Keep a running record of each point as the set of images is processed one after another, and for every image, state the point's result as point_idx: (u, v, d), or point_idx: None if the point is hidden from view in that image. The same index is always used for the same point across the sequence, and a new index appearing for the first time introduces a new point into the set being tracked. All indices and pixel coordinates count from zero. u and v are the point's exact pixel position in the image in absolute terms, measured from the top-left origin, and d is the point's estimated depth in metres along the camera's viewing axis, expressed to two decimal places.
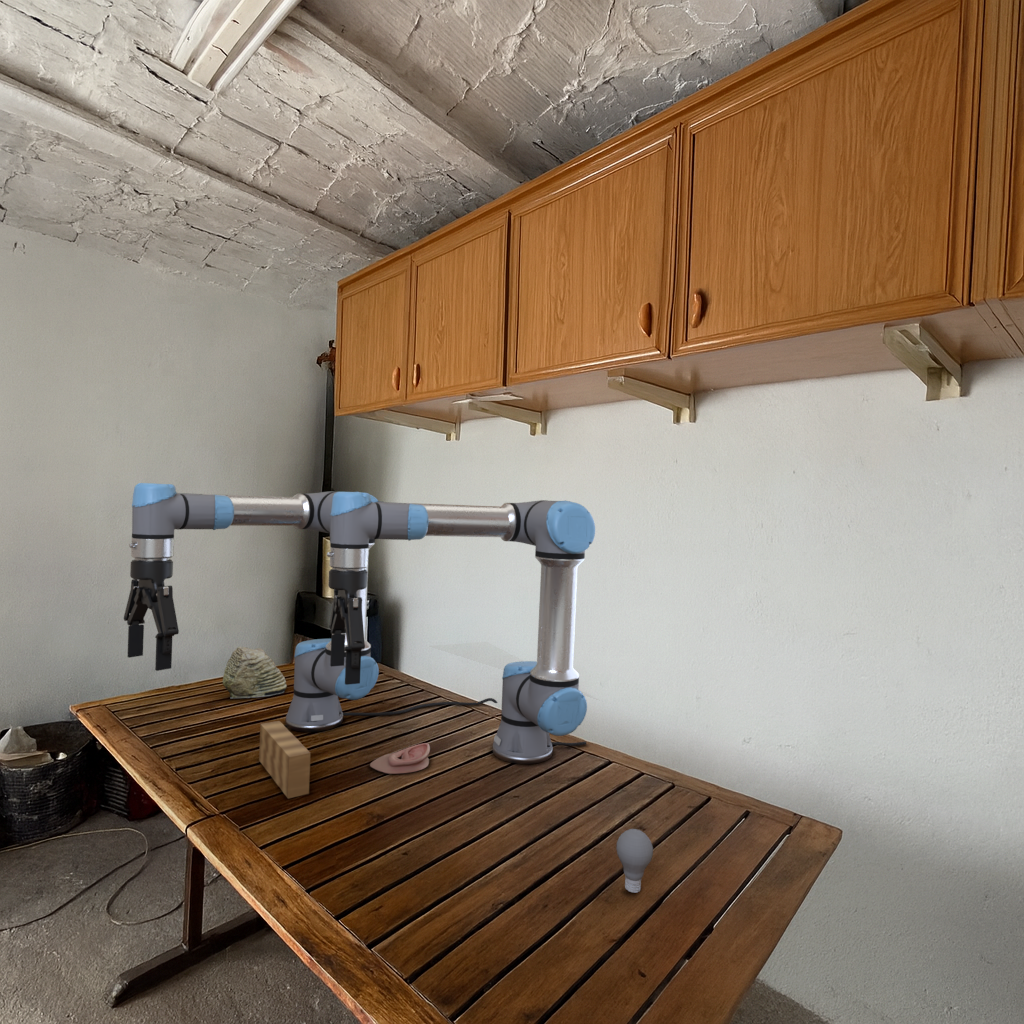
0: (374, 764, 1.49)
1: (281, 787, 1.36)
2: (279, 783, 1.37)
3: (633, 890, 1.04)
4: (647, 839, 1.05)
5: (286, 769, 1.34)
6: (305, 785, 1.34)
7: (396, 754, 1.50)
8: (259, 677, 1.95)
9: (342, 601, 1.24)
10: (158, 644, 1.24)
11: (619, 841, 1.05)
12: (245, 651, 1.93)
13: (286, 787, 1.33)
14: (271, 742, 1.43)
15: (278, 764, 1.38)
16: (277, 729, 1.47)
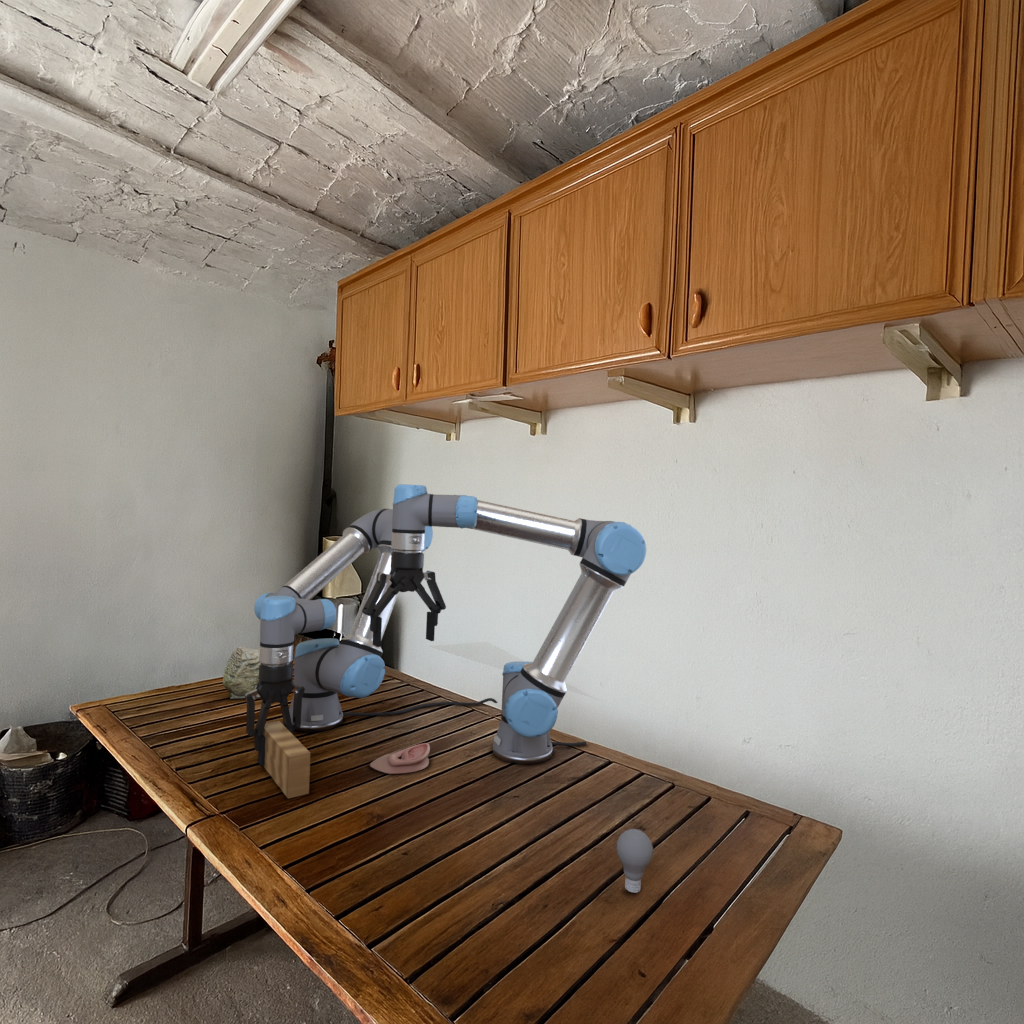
0: (374, 764, 1.49)
1: (281, 787, 1.36)
2: (279, 783, 1.37)
3: (633, 890, 1.04)
4: (647, 839, 1.05)
5: (286, 769, 1.34)
6: (305, 785, 1.34)
7: (396, 754, 1.50)
8: None
9: None
10: None
11: (619, 841, 1.05)
12: (245, 651, 1.93)
13: (286, 787, 1.33)
14: (271, 742, 1.43)
15: (278, 764, 1.38)
16: (277, 729, 1.47)
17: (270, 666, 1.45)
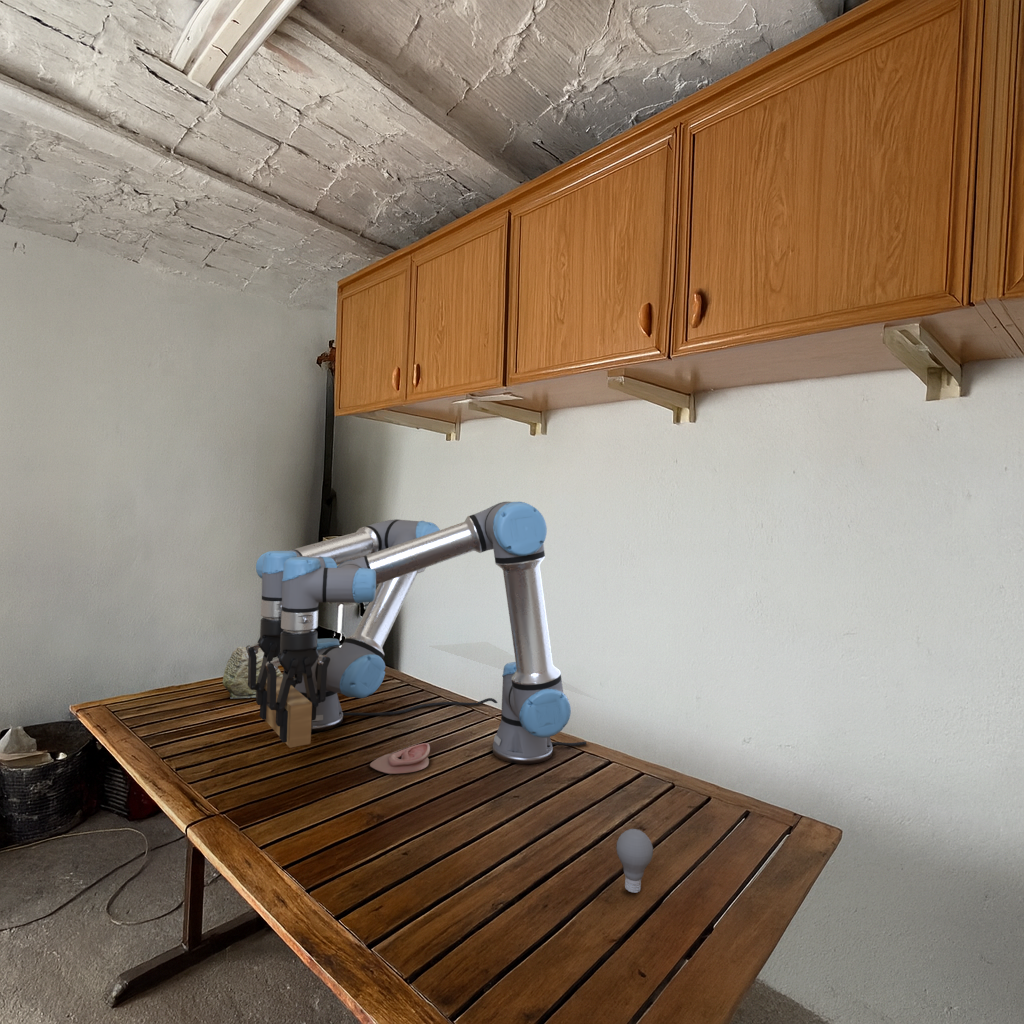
0: (374, 764, 1.49)
1: None
2: None
3: (633, 890, 1.04)
4: (647, 839, 1.05)
5: (288, 718, 1.33)
6: (306, 735, 1.34)
7: (396, 754, 1.50)
8: None
9: None
10: None
11: (619, 841, 1.05)
12: (245, 651, 1.93)
13: (288, 737, 1.33)
14: None
15: None
16: (279, 683, 1.47)
17: (272, 619, 1.45)
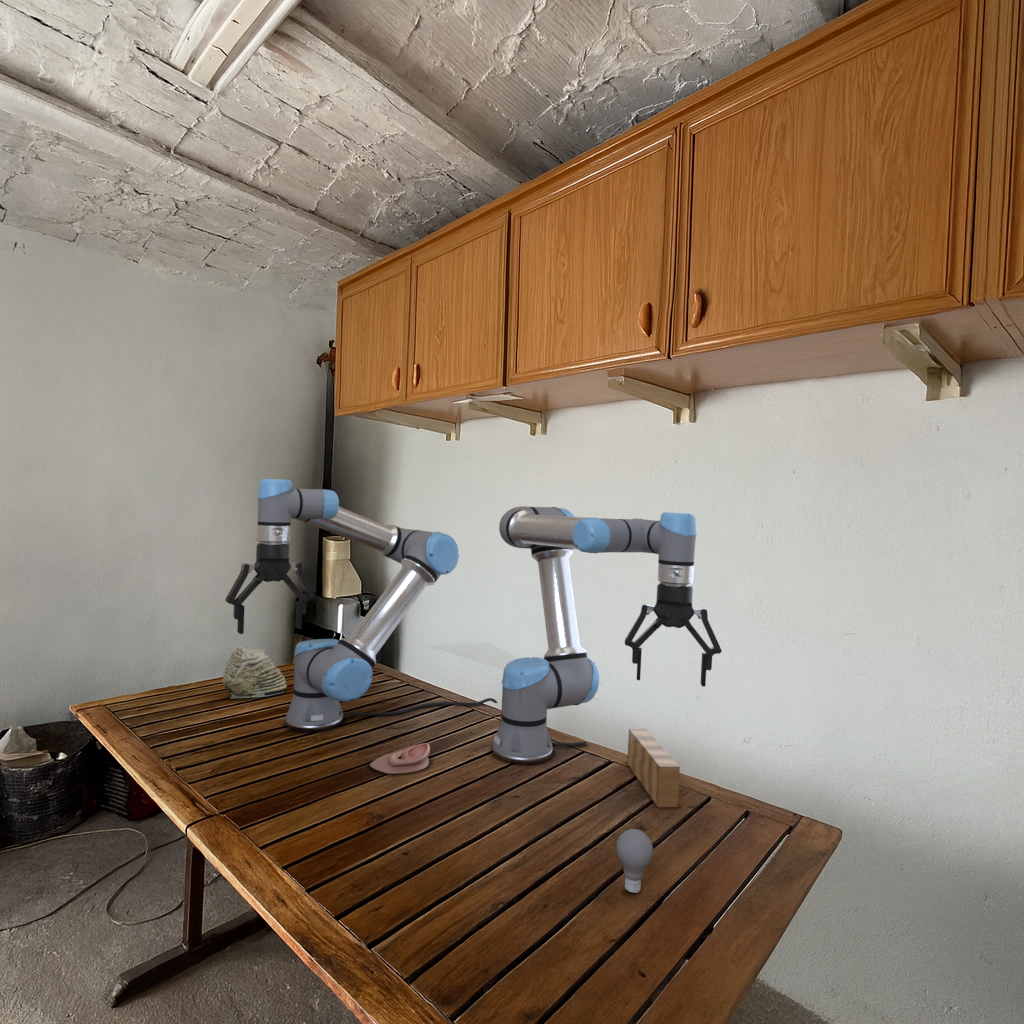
0: (374, 764, 1.49)
1: (651, 794, 1.40)
2: (649, 790, 1.42)
3: (633, 890, 1.04)
4: (647, 839, 1.05)
5: (656, 777, 1.37)
6: (674, 798, 1.36)
7: (396, 754, 1.50)
8: (259, 677, 1.95)
9: (683, 614, 1.35)
10: (302, 608, 1.56)
11: (619, 841, 1.05)
12: (245, 651, 1.93)
13: (656, 796, 1.37)
14: (640, 748, 1.49)
15: (648, 772, 1.43)
16: (645, 737, 1.52)
17: (267, 544, 1.50)
